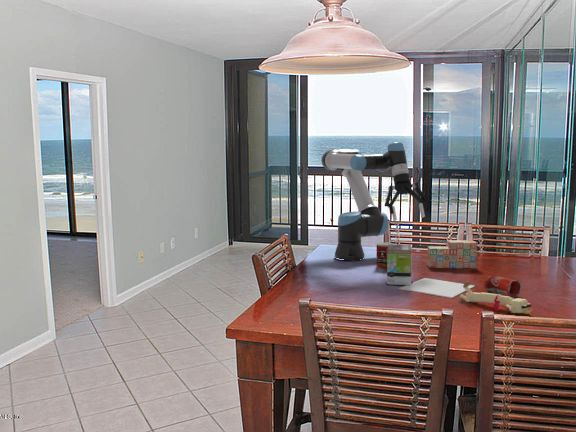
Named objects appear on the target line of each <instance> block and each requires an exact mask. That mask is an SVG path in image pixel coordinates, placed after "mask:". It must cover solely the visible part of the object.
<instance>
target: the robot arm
mask: <svg viewBox="0 0 576 432" xmlns="http://www.w3.org/2000/svg"><path fill="white" fill-rule="evenodd" d="M320 160H321V164H322V167H324V168H325V170H328V171H335V172H337V171H340V173H341V175H342V176H343V177H344V178H346V181H347V182H348V185H349V188H350V191H351V193H352V197H353V200H354V201H355V204H356V207H357V210H358V211H350V212H348V211H347V212H343V213H340V214H339V216H338V217H337V218H338V219H337V246H336V248H335V252H334V258H335V257H336V258H339V259H344V260H359V261H361V260H360V259H363V258H364V259H365V252H364V248H363V245H362V238H367V237H379V236H383V235H384V234H386V232H387V231H388V228H389V217H388V215H387V214H386V213H385V212H381V210H380V208H379V207H378V206H376V205H375V204H374V200H373V199H372V195H371V193H370V190H369V188H368V186H367V184H366V181H365V179H364V176H363V173H362V171H378V172H379V173H380V172H381V173H383V172H388V171H389V170H390V169H391V172H392V173H391V174H392V178H393V184H394V185H392V184H390V185H389V186H388V188H387V189H388V192H387V196H386V199H385V202H384V207H387V208H388V210H389V214H390V215H392V220H393V222H396V221H397V220H398V218H397V213H396V206H394V204H395V202H396V201H397V199H398V197H399V195H400V196H401V195H402V196H403V195H410V196H411V197H412V198H413V199H414V200H416V201H417V202H418V203H419V204H418V208H419V214H420V217H421V219H423V218H425V217H426V215H425V210H426V207H425V203H426V202H427V201H428V197H426V195H425V194H424V192H423V191H422V190H421V188H420V186H419V183H418V182H415V183H411V182H412V181H411V177H410V174H409V173H410V172H409V168H408V161H407V156H406V150H405V146H404V143H403V142H401V141H395V142H391V143H389V144H388V145H387V152H385V153H383V154H381V153H378V154H376V153H375V154H362V152H361V151H360V150H359V149H354V148H348V149H347V148H346V149H343V148H341V149H337V148H336V149H333V148H332V149H328V150H327V151H325V152H323V154H322V156H321V159H320ZM413 189H414V190H415V191H414V190H413ZM394 190H395V191H396V192H395V194H394V196H393V198H392V194H393V191H394ZM391 198H392V199H391ZM364 259H363V260H364Z"/></svg>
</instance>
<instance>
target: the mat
mask: <svg viewBox="0 0 576 432" xmlns="http://www.w3.org/2000/svg"><path fill="white" fill-rule="evenodd" d="M464 284H465V283H459V282H454V281H446V280H440V279H434V278H428V277H423V278H421V279H418V280H415V281H413V282H411V285H402V286H401V287H399V288H398V290H403V291H409V292H413V293H414V292H415V293H420V294H426V295H431V296H437V297H443V298H449V299H453V298H455V297H458V296H460V295H462V294H463V293H465V292H467V291H466V290H465V289H464V288H463V285H464ZM475 287H476V285H473V284H470V286H468V288H469V289H470V290H471V289H473V288H475Z"/></svg>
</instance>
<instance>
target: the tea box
mask: <svg viewBox="0 0 576 432" xmlns="http://www.w3.org/2000/svg"><path fill="white" fill-rule="evenodd" d="M386 283H387V285H393V286H394V285H395V286H396V285H399V286H400V285H401V286H406V285H411V283H412V245H411V244H406V243H405V244H403V243H402V244H396V243H395V244H394V243H393V244H388V249H387V268H386Z"/></svg>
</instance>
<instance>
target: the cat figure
mask: <svg viewBox="0 0 576 432" xmlns="http://www.w3.org/2000/svg"><path fill="white" fill-rule="evenodd" d="M463 284H464V285H463V288H464V289H465V290H466V291H465V292H466V293H465V295H464V294H459V302H461V303H464V302H467V303H468V302H469V303H488V304H489V303H490V304H493V308H494V310H495V311H496V312H498V311H499V310H498V308H500V306H505V307H504V308H508V310H509V311H510V313H511V314H512V313H513V314H524V315H528V314H530V313H531V311H533V309H529V308H531V307H532V304H531V303H530V302H529V301H528V300H527V299H526V298H520V297H518V298H517V297H514V298H513V297H510V296H508V295H507V294H506V293H505V292H503V293H504V294H505V295H506V296H503V295H500V294H495V293H491V292H473V291H472V290H471V289H469V288H468V286H470V285H471V282H470V281H469V280H467V281H465V282H464V283H463Z"/></svg>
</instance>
